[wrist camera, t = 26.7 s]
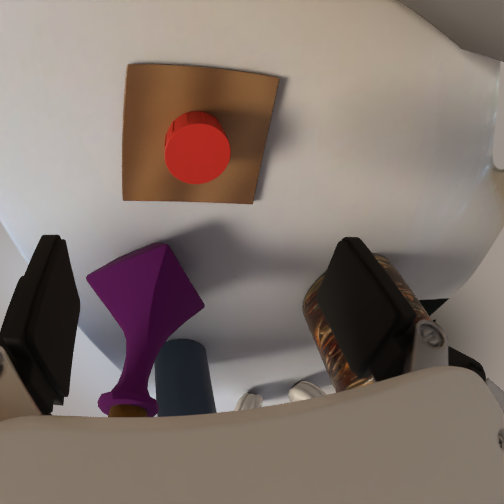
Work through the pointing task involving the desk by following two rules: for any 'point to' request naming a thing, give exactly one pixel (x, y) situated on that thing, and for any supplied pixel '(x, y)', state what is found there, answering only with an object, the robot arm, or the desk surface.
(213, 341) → the desk surface
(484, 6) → the alarm clock
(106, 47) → the desk surface
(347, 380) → the jar
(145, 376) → the perfume bottle
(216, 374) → the desk surface
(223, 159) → the cap
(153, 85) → the coaster
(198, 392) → the water bottle
